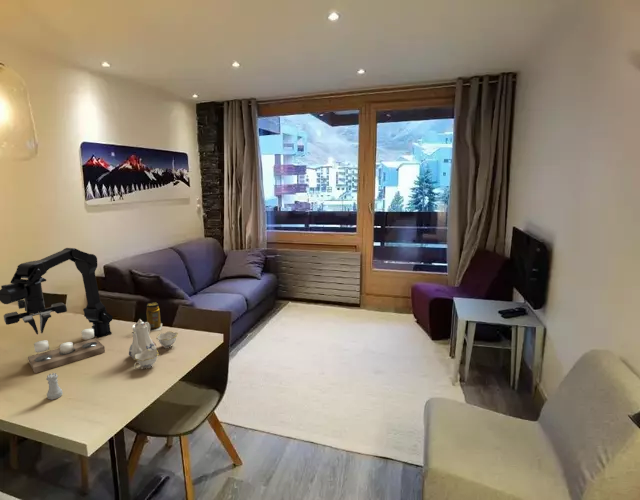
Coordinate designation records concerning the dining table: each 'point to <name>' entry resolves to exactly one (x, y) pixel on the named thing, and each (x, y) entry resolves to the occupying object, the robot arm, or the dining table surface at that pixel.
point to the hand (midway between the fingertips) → (39, 333)
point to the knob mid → (66, 347)
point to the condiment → (153, 316)
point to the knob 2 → (87, 333)
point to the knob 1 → (41, 346)
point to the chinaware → (147, 344)
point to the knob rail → (65, 355)
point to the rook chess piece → (53, 387)
